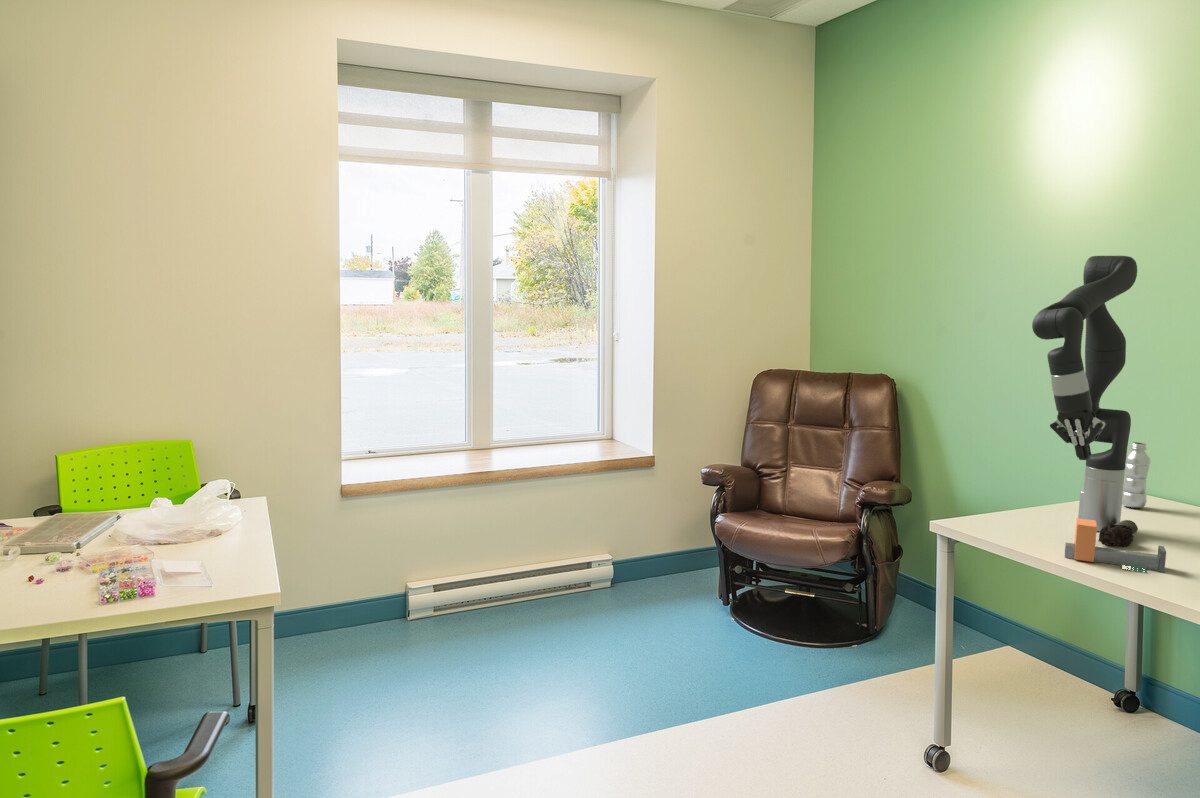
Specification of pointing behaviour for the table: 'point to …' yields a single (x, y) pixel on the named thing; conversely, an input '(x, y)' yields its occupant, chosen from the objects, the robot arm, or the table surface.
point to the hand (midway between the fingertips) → (1084, 459)
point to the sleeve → (1085, 539)
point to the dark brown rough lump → (1118, 533)
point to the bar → (1125, 557)
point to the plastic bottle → (1136, 476)
